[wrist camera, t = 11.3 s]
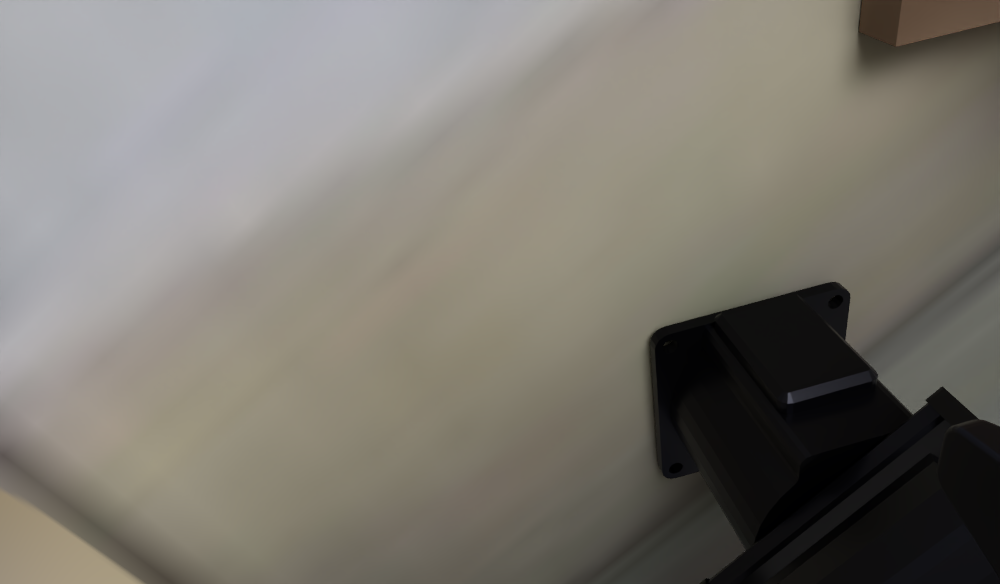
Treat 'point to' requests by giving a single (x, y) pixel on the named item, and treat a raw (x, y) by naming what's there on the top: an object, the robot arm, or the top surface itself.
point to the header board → (923, 18)
